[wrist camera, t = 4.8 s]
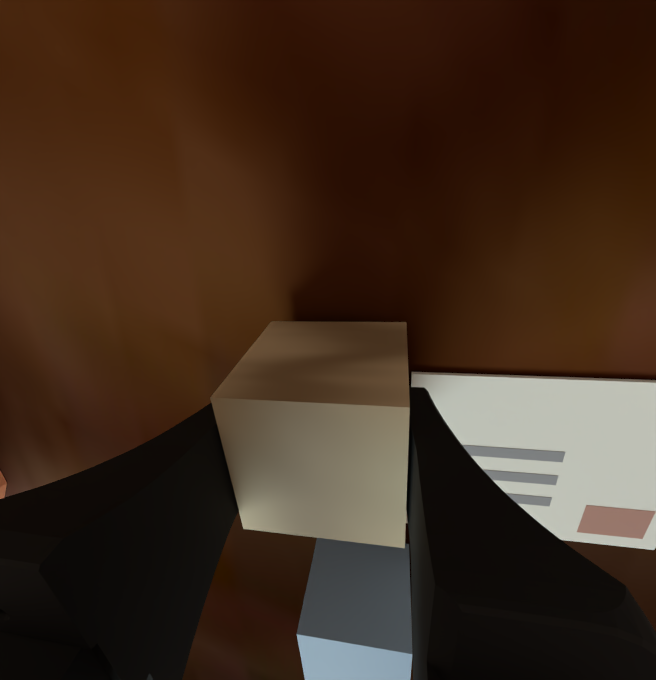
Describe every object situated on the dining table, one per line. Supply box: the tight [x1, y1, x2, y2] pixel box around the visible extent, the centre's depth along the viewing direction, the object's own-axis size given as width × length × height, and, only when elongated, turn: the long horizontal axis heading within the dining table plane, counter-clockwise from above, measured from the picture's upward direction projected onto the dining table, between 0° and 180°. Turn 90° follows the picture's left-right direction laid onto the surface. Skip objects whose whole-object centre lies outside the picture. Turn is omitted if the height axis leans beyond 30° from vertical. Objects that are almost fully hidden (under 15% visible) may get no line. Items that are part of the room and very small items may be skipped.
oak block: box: [210, 321, 410, 548], centre depth 11 cm, size 4×4×4 cm
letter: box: [406, 372, 656, 550], centre depth 14 cm, size 11×8×1 cm
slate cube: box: [297, 538, 412, 680], centre depth 17 cm, size 4×4×4 cm
